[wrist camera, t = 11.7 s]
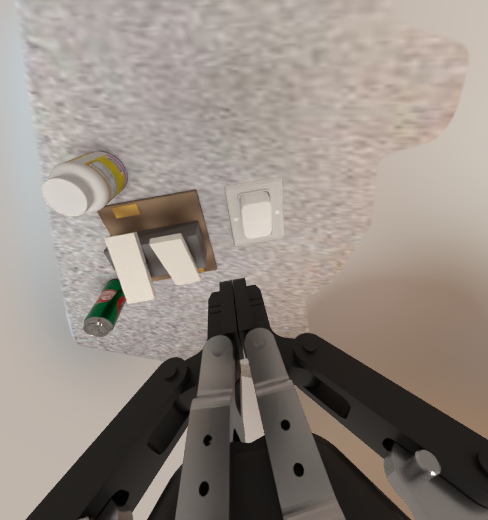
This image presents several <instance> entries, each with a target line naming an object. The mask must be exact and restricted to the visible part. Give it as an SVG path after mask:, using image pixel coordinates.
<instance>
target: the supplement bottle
mask: <svg viewBox="0 0 488 520" xmlns="http://www.w3.org/2000/svg"><path fill="white" fill-rule="evenodd" d="M126 183H127V174H126V171H125V168H124V167H123V165H122V164H121V162H120V161H119V160H118V159H116V158H115V157H114V156H112V155H110V154H108V153H105V152H100V151H96V152H91V153H88V154H86V155H83V156H80V157H78V158H75V159H72V160H70V161H67V162H64V163H61V164H59V165H57V166H56V167H54V168H53V170H52V171H51V173H50V175H49V180H47V181H46V182H45V183H44V184H43V186H42V195H43V198H44V199H45V201H46V203H47V204H48V205H49V206H50V207H51V208H52V209H54V210H55V211H57V212H58V213H61V214H63V215H66V216H79V215H81V214H83V213H93V212H97V211H99V210H101V209H102V208H103V207H104V206H105V205H106V204H108V203H109V202H110V201H111V200H112V199H113V198H114V197H115V196H116V195H117V194H118V193H119V192H121V191H122V190H123V188H124V187H125V186H126Z"/></svg>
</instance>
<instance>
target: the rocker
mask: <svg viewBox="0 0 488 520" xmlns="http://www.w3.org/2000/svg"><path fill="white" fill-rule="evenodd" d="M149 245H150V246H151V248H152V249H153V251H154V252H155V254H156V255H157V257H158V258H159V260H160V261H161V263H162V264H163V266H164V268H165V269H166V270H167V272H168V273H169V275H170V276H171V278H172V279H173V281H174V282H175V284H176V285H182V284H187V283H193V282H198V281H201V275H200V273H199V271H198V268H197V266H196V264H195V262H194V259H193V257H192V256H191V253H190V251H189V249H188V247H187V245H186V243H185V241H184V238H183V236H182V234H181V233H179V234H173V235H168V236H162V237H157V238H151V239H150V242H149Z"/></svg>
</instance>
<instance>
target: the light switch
mask: <svg viewBox="0 0 488 520" xmlns="http://www.w3.org/2000/svg"><path fill="white" fill-rule="evenodd" d="M224 189H225V194H226V200H227V206H228V211H229V217H230V222H231V228H232V234H233V239H234V245H235V246H239V245H245V244H251V243H257V242H262V241H268V240H274V239H280V238H284V216H283V189H282V178H281V177H278V178H272V179H266V180H260V181H253V182H247V183H241V184H235V185H229V186H225V187H224ZM264 191H267V192H268V193H269V195H268V193H267V192H264ZM240 196H241V197H240ZM239 198H240V199H239Z"/></svg>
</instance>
